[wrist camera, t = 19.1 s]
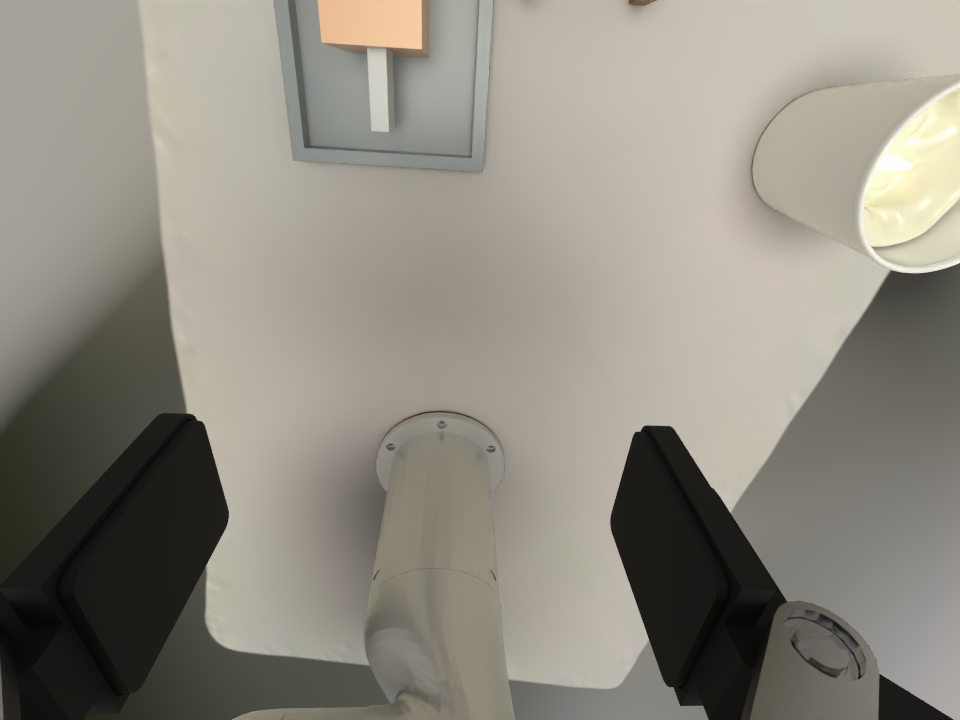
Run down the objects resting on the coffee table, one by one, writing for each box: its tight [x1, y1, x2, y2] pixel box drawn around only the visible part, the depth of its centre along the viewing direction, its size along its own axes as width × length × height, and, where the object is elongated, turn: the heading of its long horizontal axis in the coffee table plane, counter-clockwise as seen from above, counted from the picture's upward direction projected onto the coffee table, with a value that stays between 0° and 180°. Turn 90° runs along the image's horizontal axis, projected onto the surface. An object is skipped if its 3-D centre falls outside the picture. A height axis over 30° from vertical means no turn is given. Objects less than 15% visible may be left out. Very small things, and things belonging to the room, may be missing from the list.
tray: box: [274, 0, 493, 172], centre depth 29 cm, size 17×13×2 cm
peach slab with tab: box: [318, 0, 429, 132], centre depth 26 cm, size 11×5×7 cm, turn 177°
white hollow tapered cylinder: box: [752, 74, 960, 273], centre depth 29 cm, size 10×10×12 cm
